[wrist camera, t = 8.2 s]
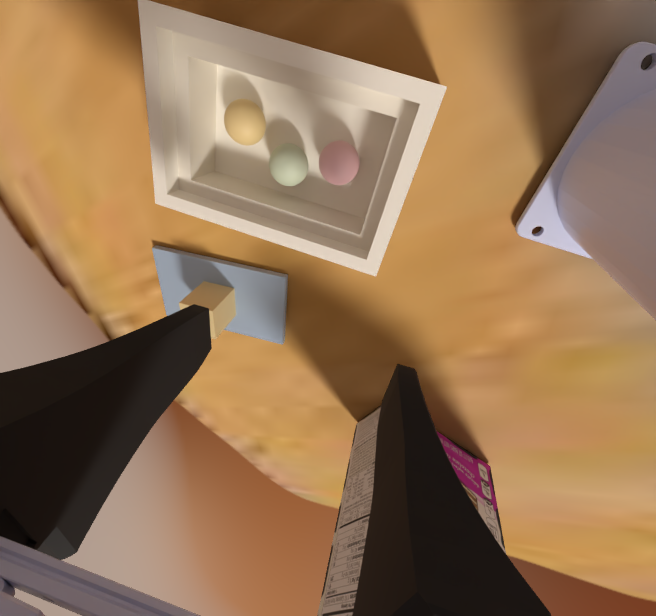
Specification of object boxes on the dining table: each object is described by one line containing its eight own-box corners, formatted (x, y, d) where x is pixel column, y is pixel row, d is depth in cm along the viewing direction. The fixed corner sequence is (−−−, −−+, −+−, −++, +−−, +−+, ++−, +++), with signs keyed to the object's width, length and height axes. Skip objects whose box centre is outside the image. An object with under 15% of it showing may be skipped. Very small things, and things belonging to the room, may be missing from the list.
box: (441, 87, 15) (446, 86, 11) (383, 245, 19) (375, 276, 16) (197, 17, 15) (137, -3, 12) (198, 185, 20) (155, 203, 17)
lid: (290, 271, 23) (268, 301, 19) (286, 336, 26) (268, 371, 23) (161, 242, 24) (120, 266, 21) (174, 308, 27) (140, 337, 24)
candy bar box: (494, 462, 27) (561, 809, 14) (450, 482, 30) (472, 785, 17) (389, 394, 26) (354, 709, 13) (353, 421, 29) (295, 700, 16)
